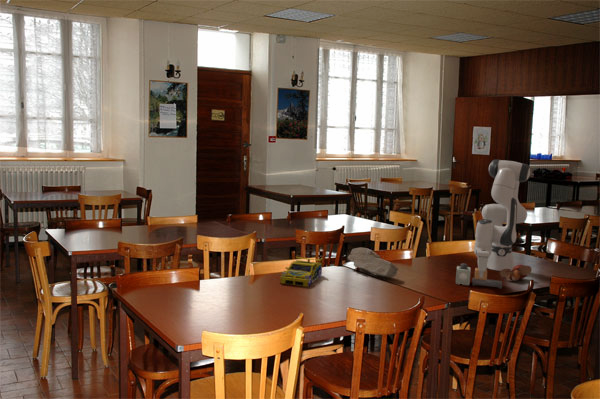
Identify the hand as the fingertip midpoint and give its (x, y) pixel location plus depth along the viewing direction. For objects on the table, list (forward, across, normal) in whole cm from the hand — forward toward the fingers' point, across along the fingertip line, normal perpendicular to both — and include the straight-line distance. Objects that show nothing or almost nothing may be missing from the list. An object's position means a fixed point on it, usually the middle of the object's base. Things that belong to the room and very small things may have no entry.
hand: (480, 275), depth 312 cm
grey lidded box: (+5, 0, -9) cm, 10 cm away
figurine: (+5, -19, +19) cm, 28 cm away
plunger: (0, 0, -9) cm, 9 cm away
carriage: (+4, 0, 0) cm, 4 cm away
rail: (+5, 0, +4) cm, 6 cm away
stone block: (+5, +1, -59) cm, 59 cm away
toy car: (+5, +29, -91) cm, 95 cm away
